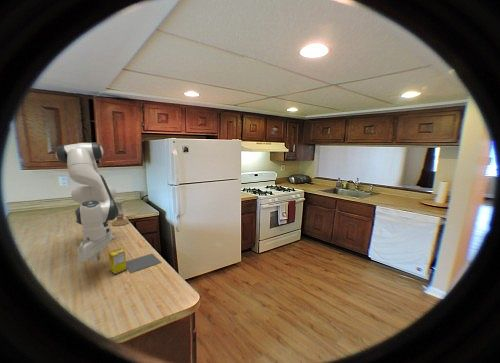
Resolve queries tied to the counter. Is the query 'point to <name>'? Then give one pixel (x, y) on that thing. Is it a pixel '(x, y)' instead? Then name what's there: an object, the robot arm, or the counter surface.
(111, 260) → the supplement box
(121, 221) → the candle holder
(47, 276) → the counter surface
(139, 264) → the mat
